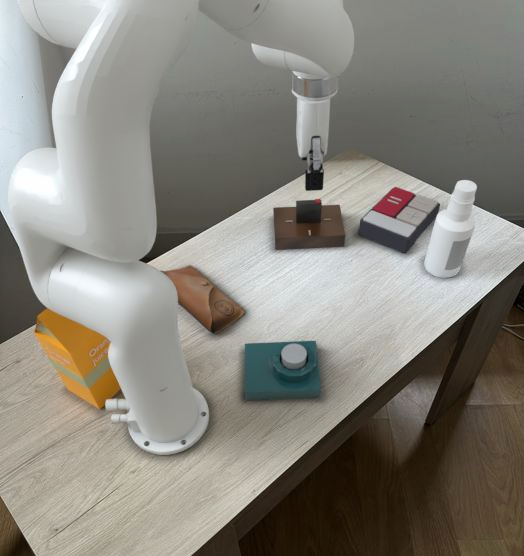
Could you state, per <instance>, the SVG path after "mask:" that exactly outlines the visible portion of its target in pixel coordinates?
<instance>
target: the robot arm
mask: <svg viewBox="0 0 524 556" xmlns="http://www.w3.org/2000/svg"><path fill="white" fill-rule="evenodd" d="M16 2H17V6H18V8H19V11H20V12H21V14H22V16H23V19H24V20H25V21H26V22H27V24H28V25H29V27H31V29H32V30H34V31H35V33H37V34H38V35H39V36H40V37H41V38H43V39H45V40H47V41H49V42H50V43H52V44H54V45H55V44H56V45H58V46H61V47H65V48H69V49H75V50H74V52H73V54H72V56H71V58H70V59H69V61H68V62H67V64H66V66H65V68H64V69H63V71H62V73H61V75H60V77H59V79H58V82H57V83H56V87H55V90H54V93H53V98H52V104H51V120H52V121H51V122H52V130H53V135H54V136H53V137H54V141H55V142H54V143H55V147H40V148H36V149H34V150H31V151H29V152H28V153H26V154H25V155H23V156H22V157H21V158H20V159H19V160H18V161H17V163H16V165H15V166H14V167H13V170H12V172H11V175H10V179H9V183H8V189H7V207H8V213H9V216H10V217H9V218H10V221H11V224H12V227H13V231H14V235H15V238H16V241H17V244H18V247H19V251H20V255H21V257H22V260H23V264H24V267H25V270H26V273H27V276H28V280H29V282H30V285H31V288H32V290H33V293H34V294H35V297H36V298H37V300H38V301H39V302H40V303H41V304H42V305H43V306H44V307H46V309H47V308H48V309H50V310H52V311H53V312H55V313H57V314H59V315H62V316H64V317H66V318H68V319H70V320H73V321H75V322H77V323H79V324H81V325H84V326H85V327H87V328H89V329H91V330H93V331H96V332H98V333H100V334H101V335H103V336H105V337H106V338H107V339H109V340H110V341H111V343H110V346H109V349H108V359H109V363H110V365H111V368H112V370H113V372H114V375H115V376H116V378H117V381H118V383H119V385H120V387H121V389H120V390H121V392H122V394H123V396H124V398H111V399H107V400H106V403H105V405H104V406H105V410H106V412H119V411H126V413H123V414H122V413H112V414H111V416H110V422H111V424H121V423H122V424H123V423H125V424H127V429H128V433H129V434H130V437H131V439H132V440H133V442H134V443H135V445H136V446H138V447H139V449H142V450H144V452H147V453H150V454H152V455H157V456H170V455H175V454H179V453H181V452H184V451H186V450H188V449H189V448H191V447H193V446H194V445H195V444H196V443H197V442H199V440H200V439H201V438H202V437H203V435H204V434H205V432H206V430H207V429H208V425H209V421H210V409H209V406H208V402H207V400H206V398H205V396H204V395H203V394H202V393H201V392H200V391H199V390H198V389H196V388H195V387H194V386H193V383H192V379H191V375H190V372H189V368H188V364H187V360H186V356H185V353H184V349H183V345H182V340H181V336H180V331H179V324H178V323H179V322H178V321H179V320H178V319H179V317H178V314H179V303H178V295H177V290H176V287H175V285H174V284H173V282H172V281H171V279H170V278H169V277H168V276H166V275H165V274H164V273H163V272H161V271H162V270H159V269H158V268H156V267H155V266H152V265H150V264H148V263H146V262H143V261H141V259H143V258H144V257H146V256H147V255H148V254H149V253H150V251H151V250H152V248H153V246H154V244H155V241H156V237H157V231H158V217H157V205H156V195H155V184H154V183H155V182H154V172H153V163H152V161H153V160H152V150H151V128H150V124H151V117H152V112H153V109H154V105H155V102H156V100H157V97H158V95H159V93H160V91H161V88H162V87H163V85H164V83H165V81H166V79H167V77H168V76H169V74H170V73H171V71H172V69H173V68H174V66H175V65H176V64H177V62H178V61H179V59H180V58H181V56H182V54H183V53H184V51H186V49H187V47H188V45H189V44H190V41H191V40H192V37H193V34H194V32H195V29H196V25H197V20H198V14H199V12H200V13H202V14H203V15H205V17H207V18H208V19H210V20H211V21H212V22H214V23H215V24H217V25H218V26H219V27H220V28H222V29H223V30H224V31H225V32H226V33H229V35H231V36H233V37H235V38H237V39H239V40H243V41H245V42H248V43H249V44H251V50H252V53H253V55H254V57H255V58H256V59H257V60H258V61H259V62H260V63H261V64H262V65H265V66H267V67H271V68H273V69H281V70H284V71H289V72H291V93H292V95H293V96H294V97H296V124H295V125H296V126H295V135H296V146H297V154H298V157H300V158H301V160H302V161H306V169H305V172H304V173H305V175H304V176H305V179H304V189H305V191H306V192H312V191H313V192H314V191H323V189H324V177H325V169H324V157H325V156H327V154H328V153H327V152H328V145H329V133H330V132H329V131H330V118H331V117H330V116H331V114H330V113H331V98H333V97H334V96H336V95H337V93H338V92H339V91H338V90H339V77H340V75H341V74H342V73H343V72H344V71H345V70H347V68H348V66H349V64H350V63H351V60H352V58H353V55H354V50H355V32H354V27H353V23H352V21H351V19H350V16H349V14H348V13H347V12H346V11H345V9H344V0H16ZM311 161H312V162H311Z"/></svg>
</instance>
